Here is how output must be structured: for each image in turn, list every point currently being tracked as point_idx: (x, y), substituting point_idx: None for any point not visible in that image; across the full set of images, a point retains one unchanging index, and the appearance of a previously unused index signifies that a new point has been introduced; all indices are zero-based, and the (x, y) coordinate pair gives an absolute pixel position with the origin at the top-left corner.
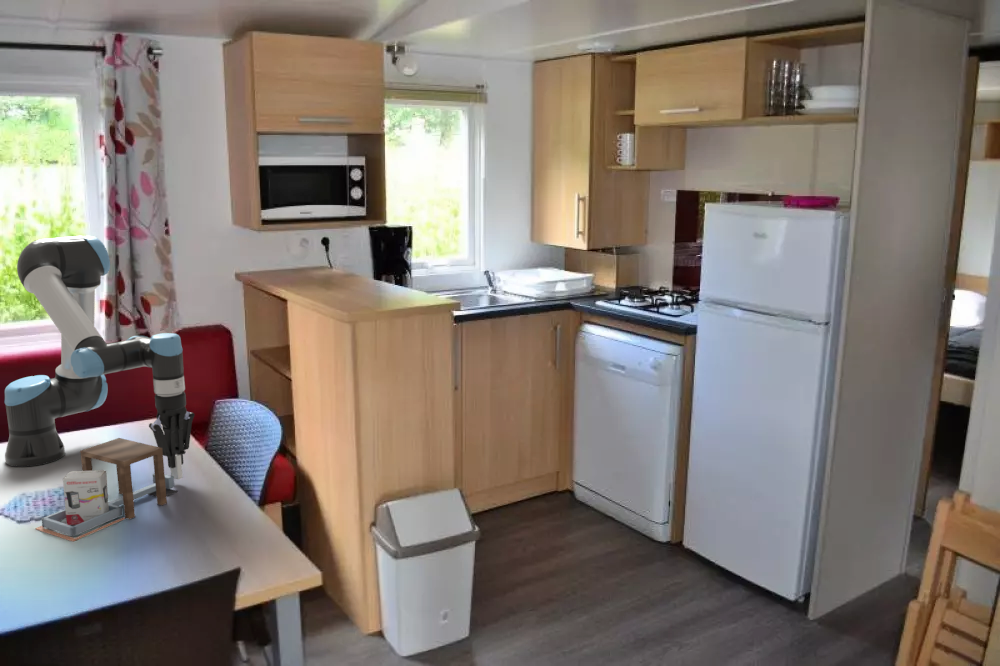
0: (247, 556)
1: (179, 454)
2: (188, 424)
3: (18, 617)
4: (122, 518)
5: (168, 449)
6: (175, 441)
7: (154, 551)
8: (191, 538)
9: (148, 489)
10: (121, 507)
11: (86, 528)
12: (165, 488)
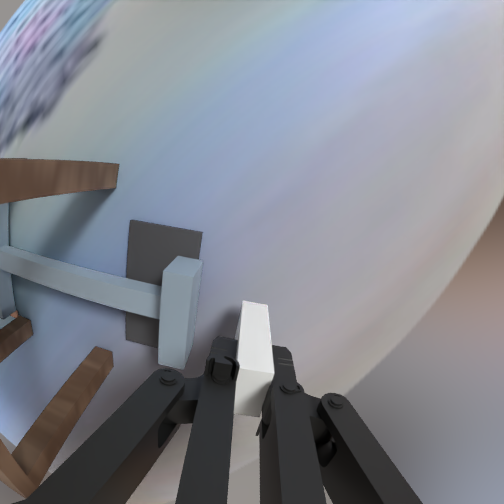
0: None
1: (260, 410)
2: None
3: None
4: (14, 314)
5: (166, 442)
6: (269, 458)
7: (18, 416)
8: (64, 448)
9: (103, 302)
10: (1, 318)
11: None
12: (93, 395)
